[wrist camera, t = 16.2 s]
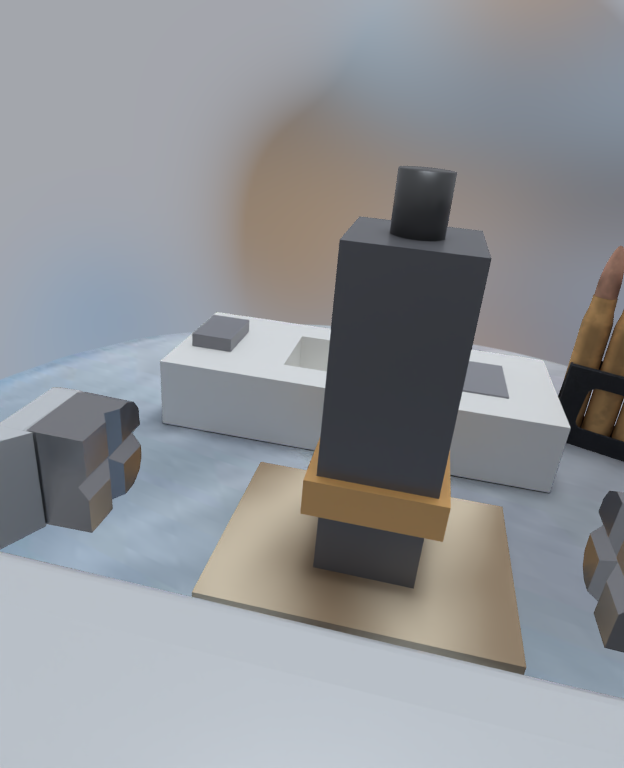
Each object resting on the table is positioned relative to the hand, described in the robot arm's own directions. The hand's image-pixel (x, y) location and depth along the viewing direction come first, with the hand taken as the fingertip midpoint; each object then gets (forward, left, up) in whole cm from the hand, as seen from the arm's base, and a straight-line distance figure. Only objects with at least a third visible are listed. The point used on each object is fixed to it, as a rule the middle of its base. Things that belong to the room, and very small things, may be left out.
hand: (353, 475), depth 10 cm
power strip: (+2, -23, -12) cm, 26 cm away
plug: (0, -11, -11) cm, 15 cm away
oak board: (0, -11, -12) cm, 16 cm away
